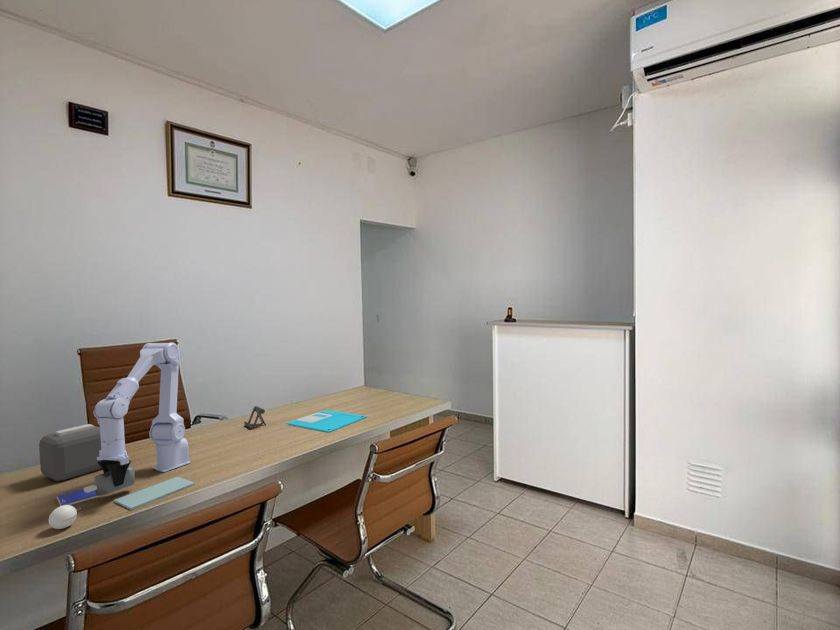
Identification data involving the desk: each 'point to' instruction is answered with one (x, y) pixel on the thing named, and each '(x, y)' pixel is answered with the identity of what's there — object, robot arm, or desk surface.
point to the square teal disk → (326, 420)
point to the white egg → (62, 517)
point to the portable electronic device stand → (259, 412)
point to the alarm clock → (70, 452)
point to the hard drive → (75, 497)
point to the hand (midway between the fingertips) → (115, 483)
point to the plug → (110, 482)
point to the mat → (153, 493)
